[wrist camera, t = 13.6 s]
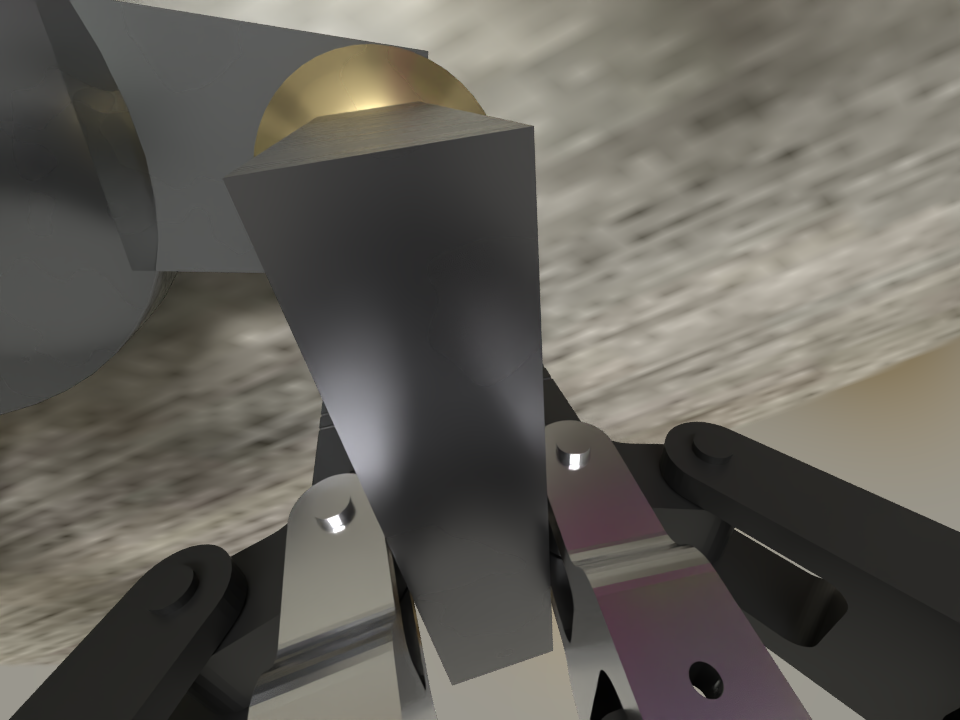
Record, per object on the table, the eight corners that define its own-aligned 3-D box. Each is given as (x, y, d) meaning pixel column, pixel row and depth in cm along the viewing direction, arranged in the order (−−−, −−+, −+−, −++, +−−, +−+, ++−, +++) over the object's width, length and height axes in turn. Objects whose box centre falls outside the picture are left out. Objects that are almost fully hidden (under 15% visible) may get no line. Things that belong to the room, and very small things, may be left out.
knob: (234, 70, 8) (-316, -11, 2) (467, 39, 9) (796, -115, 2) (361, 402, 13) (363, 716, 7) (502, 368, 14) (631, 623, 7)
